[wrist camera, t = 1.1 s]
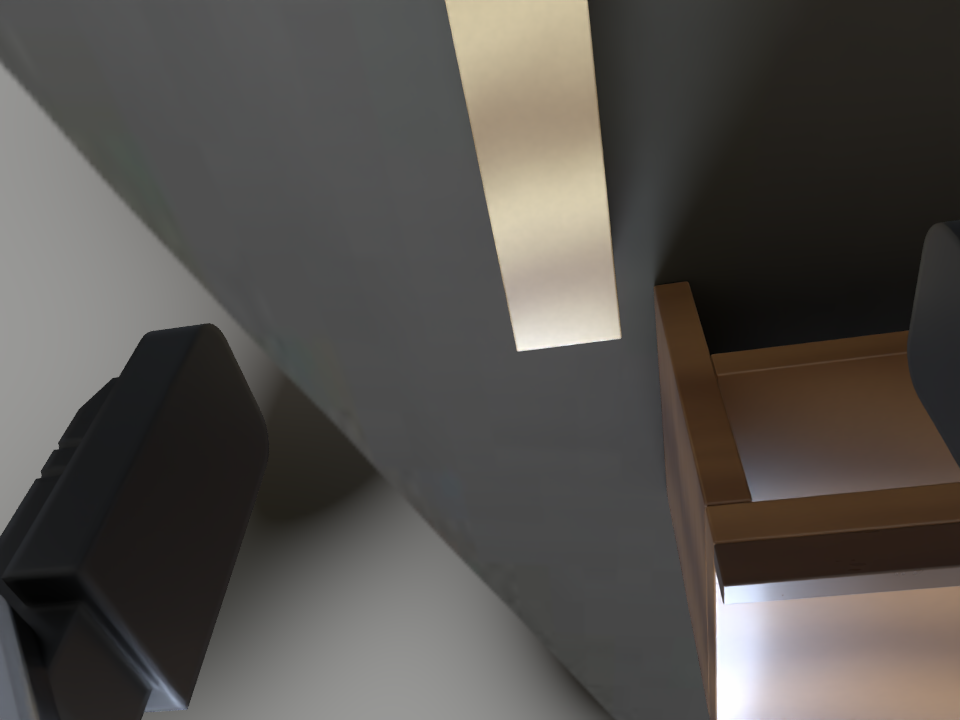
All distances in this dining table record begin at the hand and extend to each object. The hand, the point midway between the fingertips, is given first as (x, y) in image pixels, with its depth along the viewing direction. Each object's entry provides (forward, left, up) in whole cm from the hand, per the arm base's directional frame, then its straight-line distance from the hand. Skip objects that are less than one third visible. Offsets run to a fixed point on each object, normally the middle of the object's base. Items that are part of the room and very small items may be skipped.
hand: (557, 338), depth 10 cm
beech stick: (+2, 0, -16) cm, 16 cm away
